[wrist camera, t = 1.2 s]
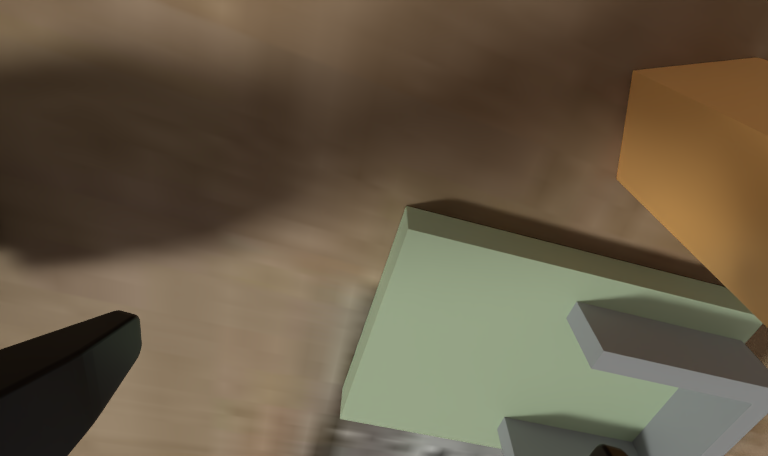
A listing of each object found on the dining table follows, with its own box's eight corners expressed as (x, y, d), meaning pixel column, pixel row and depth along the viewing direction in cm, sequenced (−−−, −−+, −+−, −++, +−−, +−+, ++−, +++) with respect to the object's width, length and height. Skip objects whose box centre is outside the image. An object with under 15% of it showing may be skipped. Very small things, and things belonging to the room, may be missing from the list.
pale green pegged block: (342, 388, 27) (334, 472, 22) (406, 206, 21) (411, 272, 16) (613, 441, 29) (654, 527, 25) (739, 290, 23) (820, 368, 19)
